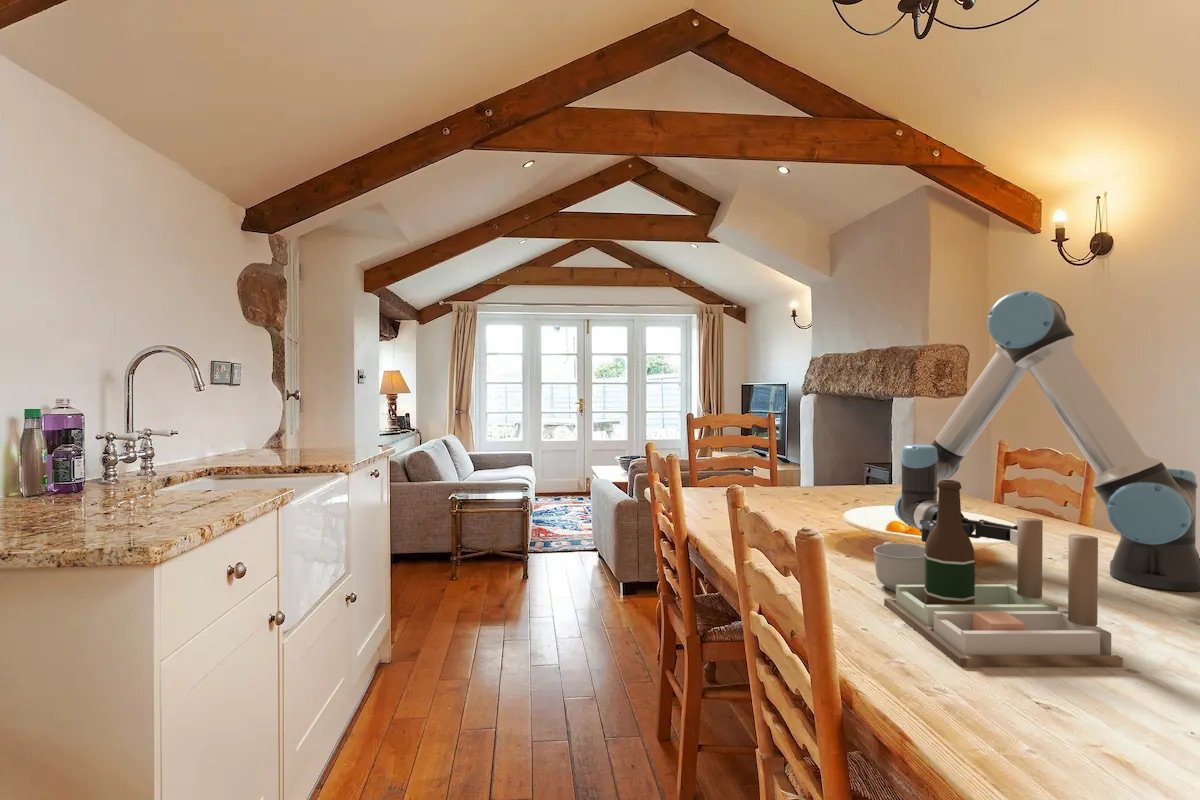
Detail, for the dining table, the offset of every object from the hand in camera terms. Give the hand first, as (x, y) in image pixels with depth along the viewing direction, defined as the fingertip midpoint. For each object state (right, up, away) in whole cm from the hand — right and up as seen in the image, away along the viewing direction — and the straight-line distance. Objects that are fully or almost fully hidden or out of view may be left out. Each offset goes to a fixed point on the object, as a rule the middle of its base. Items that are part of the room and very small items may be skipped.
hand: (996, 544), depth 122 cm
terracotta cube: (-13, -11, -22) cm, 28 cm away
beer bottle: (-14, -11, -9) cm, 20 cm away
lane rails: (-10, -11, -15) cm, 21 cm away
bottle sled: (-10, -11, -9) cm, 17 cm away
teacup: (-13, -11, +10) cm, 20 cm away
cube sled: (-10, -11, -22) cm, 27 cm away
